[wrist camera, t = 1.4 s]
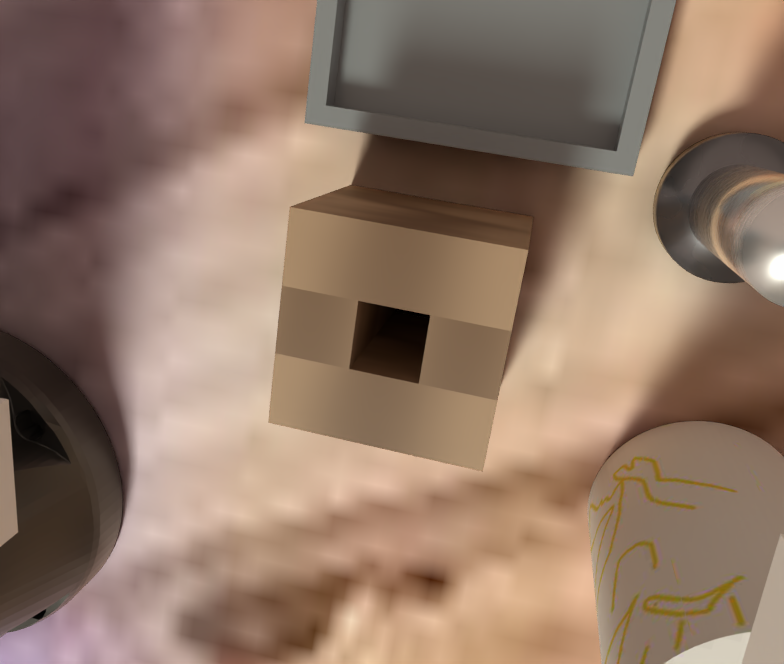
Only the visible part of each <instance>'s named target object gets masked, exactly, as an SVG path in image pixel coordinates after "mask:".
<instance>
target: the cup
mask: <svg viewBox="0 0 784 664" xmlns="http://www.w3.org/2000/svg"><path fill="white" fill-rule="evenodd" d="M588 525H589V535H590V546H591V557H592V567H593V578H594V588H595V599H596V610H597V620H598V631H599V641H600V652H601V663H602V664H742V661H743V657H744V654H745V651H746V647H747V644H748V641H749V637H750V634H751V631H752V627H753V624H754V621H755V617H756V614H757V611H758V607H759V604H760V601H761V597H762V594H763V591H764V587H765V584H766V581H767V577H768V574H769V571H770V567H771V564H772V561H773V557H774V554H775V551H776V547H777V544H778V541H779V537H780V534H784V457H783V456H782V455H781V454H780V453H779V452H778V451H777V450H776V449H775V448H774V447H772V446H771V445H770V444H769V443H767V442H766V441H764V440H763V439H761V438H759V437H757V436H756V435H754V434H752V433H750V432H748V431H745V430H742V429H740V428H737V427H734V426H730V425H726V424H722V423H716V422H708V421H685V422H677V423H671V424H667V425H663V426H659V427H656V428H653V429H650V430H648V431H646V432H643V433H641V434H639V435H637V436H636V437H634V438H632V439H631V440H629V441H628V442H626V443H625V444H623V445H622V446H621V447H620V448H618V449H617V450H616V451H615V452H614V453H613V454H612V455H611V456H610V457H609V458H608V459H607V461H606V462H605V463H604V465H603V466H602V467H601V469H600V471H599V472H598V474H597V476H596V478H595V480H594V483H593V485H592V488H591V491H590V495H589V500H588Z"/></svg>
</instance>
